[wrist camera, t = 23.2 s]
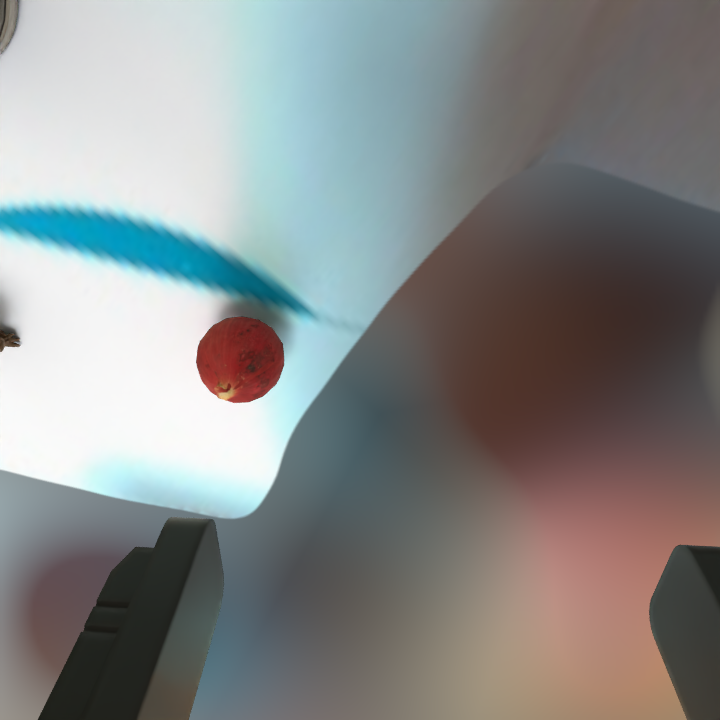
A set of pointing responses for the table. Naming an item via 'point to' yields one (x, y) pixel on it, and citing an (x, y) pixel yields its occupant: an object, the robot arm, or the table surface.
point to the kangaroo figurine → (7, 340)
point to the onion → (240, 359)
